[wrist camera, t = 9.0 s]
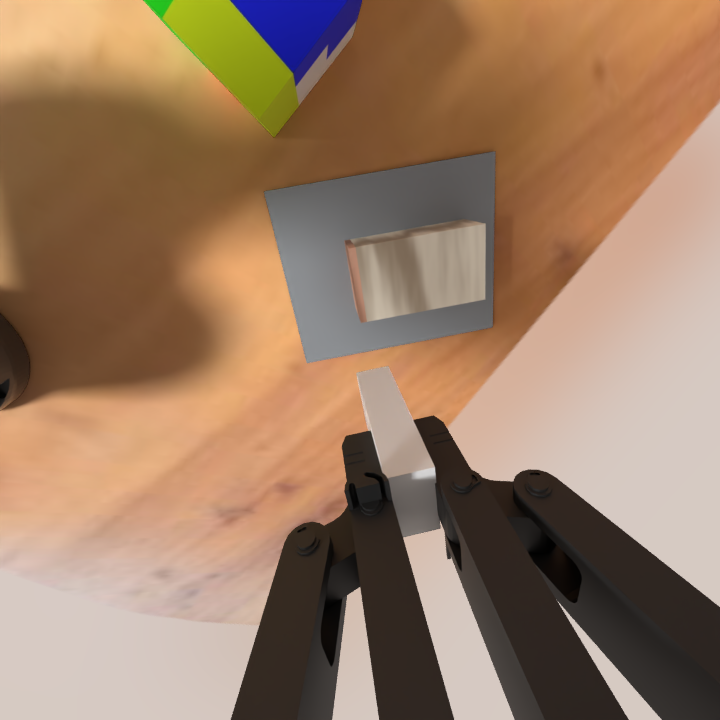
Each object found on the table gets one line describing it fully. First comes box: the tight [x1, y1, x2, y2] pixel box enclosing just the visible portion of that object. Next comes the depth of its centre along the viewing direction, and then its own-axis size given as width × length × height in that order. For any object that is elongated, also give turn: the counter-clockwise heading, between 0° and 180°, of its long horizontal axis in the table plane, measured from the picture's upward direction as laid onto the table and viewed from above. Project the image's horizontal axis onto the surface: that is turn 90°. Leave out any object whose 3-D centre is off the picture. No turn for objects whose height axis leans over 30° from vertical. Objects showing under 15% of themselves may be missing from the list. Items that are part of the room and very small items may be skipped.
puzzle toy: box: [143, 0, 362, 137], centre depth 24 cm, size 10×10×10 cm
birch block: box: [344, 219, 486, 323], centre depth 35 cm, size 5×7×12 cm
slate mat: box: [264, 151, 495, 363], centre depth 37 cm, size 22×18×1 cm
